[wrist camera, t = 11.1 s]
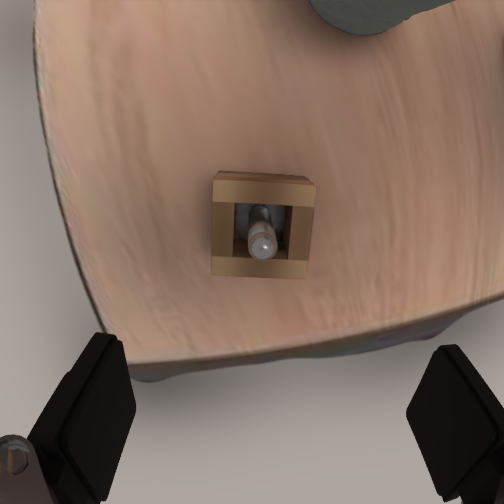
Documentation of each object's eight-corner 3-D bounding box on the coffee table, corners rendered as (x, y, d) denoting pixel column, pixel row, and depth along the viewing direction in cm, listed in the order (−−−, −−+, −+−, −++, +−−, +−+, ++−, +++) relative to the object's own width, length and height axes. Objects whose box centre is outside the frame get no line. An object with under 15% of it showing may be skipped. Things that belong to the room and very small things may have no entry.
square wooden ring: (306, 177, 25) (316, 185, 22) (298, 259, 28) (305, 279, 24) (218, 172, 25) (213, 179, 21) (216, 255, 28) (211, 275, 24)
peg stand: (304, 176, 26) (329, 197, 18) (296, 255, 29) (313, 305, 20) (219, 170, 26) (204, 189, 18) (216, 251, 28) (203, 300, 20)
